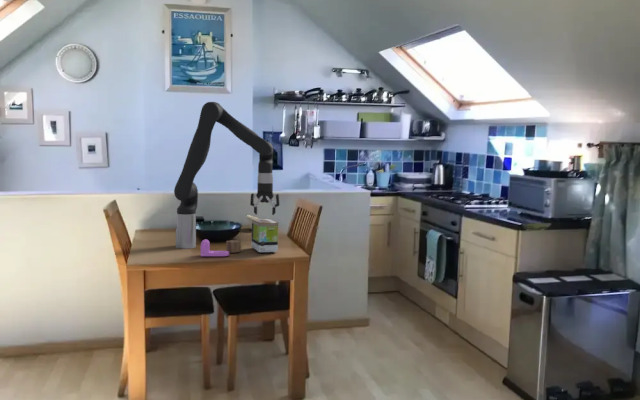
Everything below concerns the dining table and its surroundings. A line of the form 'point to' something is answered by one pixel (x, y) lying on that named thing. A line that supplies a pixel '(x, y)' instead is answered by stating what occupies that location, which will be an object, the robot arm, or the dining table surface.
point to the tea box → (264, 235)
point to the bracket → (206, 251)
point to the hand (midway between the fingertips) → (264, 214)
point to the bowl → (251, 220)
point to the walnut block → (233, 246)
